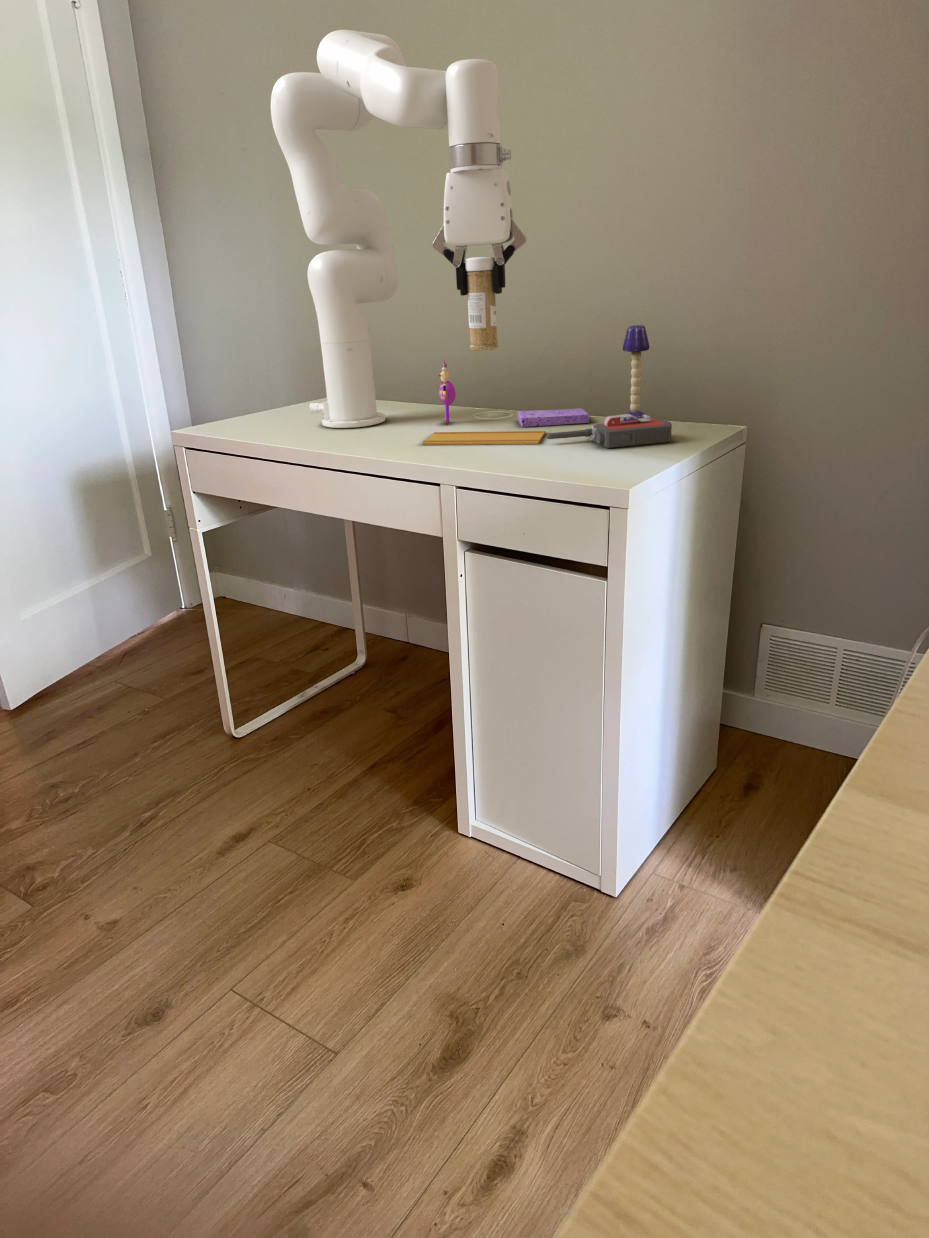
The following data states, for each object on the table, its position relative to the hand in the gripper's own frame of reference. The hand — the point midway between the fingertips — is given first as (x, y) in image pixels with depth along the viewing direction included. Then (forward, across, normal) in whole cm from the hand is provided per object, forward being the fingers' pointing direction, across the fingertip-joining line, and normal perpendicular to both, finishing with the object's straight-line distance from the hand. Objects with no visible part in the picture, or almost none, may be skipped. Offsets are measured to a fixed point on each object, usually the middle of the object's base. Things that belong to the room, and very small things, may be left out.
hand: (481, 293), depth 131 cm
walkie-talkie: (+24, -20, -4) cm, 32 cm away
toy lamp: (+24, -23, -22) cm, 40 cm away
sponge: (+24, -8, -22) cm, 34 cm away
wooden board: (+24, +2, -8) cm, 25 cm away
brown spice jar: (+9, 0, 0) cm, 9 cm away
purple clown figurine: (+24, +12, -23) cm, 35 cm away
